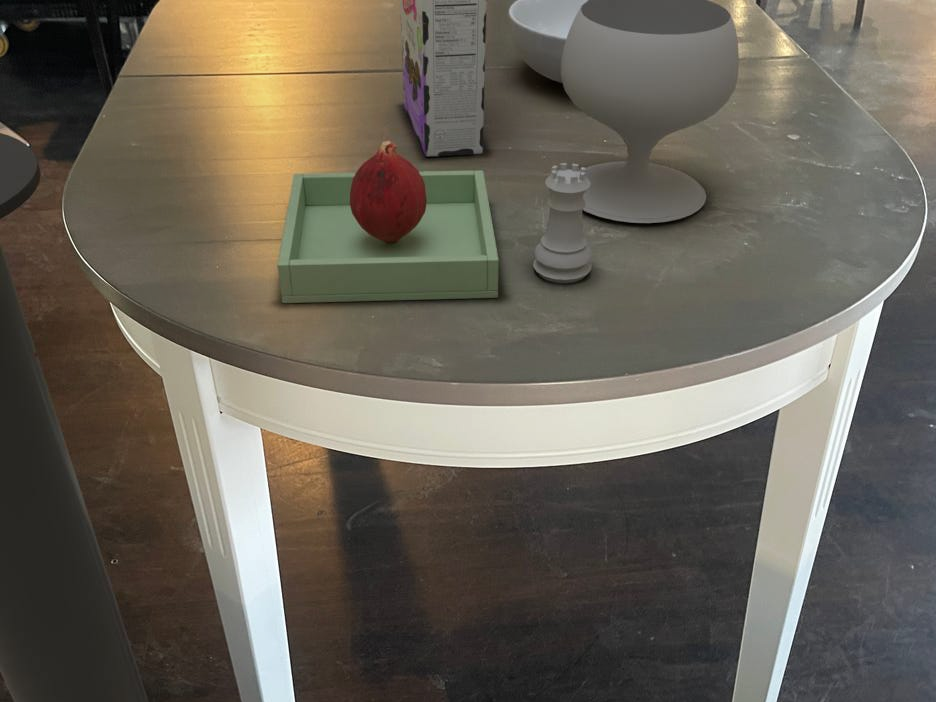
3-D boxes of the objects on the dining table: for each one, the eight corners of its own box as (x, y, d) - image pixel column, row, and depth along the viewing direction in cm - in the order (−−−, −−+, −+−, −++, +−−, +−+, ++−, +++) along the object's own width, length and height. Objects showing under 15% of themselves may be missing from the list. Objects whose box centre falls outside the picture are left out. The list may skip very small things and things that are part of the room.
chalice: (565, 235, 82) (579, 41, 72) (543, 164, 92) (552, -12, 83) (735, 230, 83) (771, 38, 73) (694, 161, 93) (720, -14, 84)
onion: (413, 265, 76) (409, 163, 71) (341, 254, 77) (333, 153, 72) (437, 231, 81) (435, 132, 75) (369, 222, 82) (362, 124, 77)
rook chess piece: (567, 291, 75) (575, 189, 70) (520, 272, 77) (524, 171, 72) (602, 269, 77) (612, 169, 72) (556, 251, 80) (562, 152, 74)
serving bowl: (733, 75, 112) (744, 9, 107) (627, 129, 99) (635, 56, 95) (580, 36, 122) (585, -26, 117) (467, 80, 110) (467, 13, 105)
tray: (282, 303, 73) (277, 264, 71) (297, 208, 85) (293, 173, 83) (497, 298, 74) (498, 259, 72) (482, 205, 86) (483, 169, 84)
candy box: (401, 105, 104) (394, -74, 93) (458, 102, 105) (457, -76, 94) (423, 159, 93) (419, -37, 83) (486, 154, 94) (489, -39, 84)
